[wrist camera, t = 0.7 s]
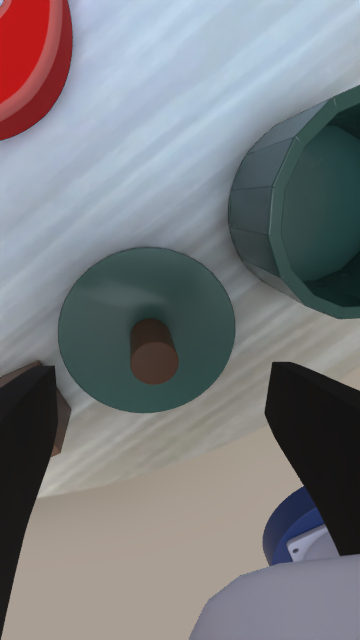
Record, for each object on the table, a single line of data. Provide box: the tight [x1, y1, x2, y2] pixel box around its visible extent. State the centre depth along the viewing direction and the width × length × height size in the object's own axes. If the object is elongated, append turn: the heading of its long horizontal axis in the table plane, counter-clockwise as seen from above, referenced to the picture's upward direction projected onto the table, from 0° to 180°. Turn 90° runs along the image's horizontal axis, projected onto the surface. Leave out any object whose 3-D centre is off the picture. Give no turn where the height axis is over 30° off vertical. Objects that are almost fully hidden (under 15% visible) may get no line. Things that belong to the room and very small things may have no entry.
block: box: [0, 361, 71, 457], centre depth 19 cm, size 4×4×4 cm
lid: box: [58, 247, 235, 413], centre depth 19 cm, size 10×10×4 cm
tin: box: [228, 85, 360, 319], centre depth 17 cm, size 10×10×6 cm
